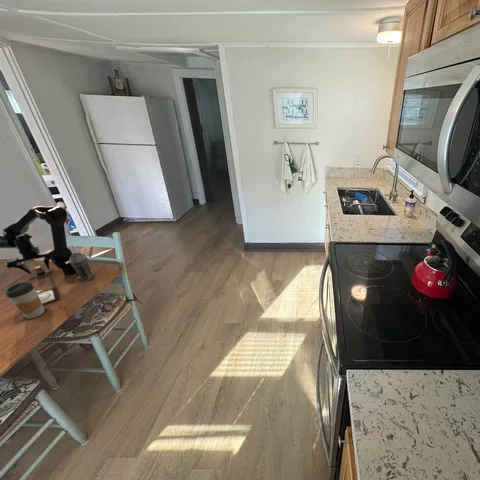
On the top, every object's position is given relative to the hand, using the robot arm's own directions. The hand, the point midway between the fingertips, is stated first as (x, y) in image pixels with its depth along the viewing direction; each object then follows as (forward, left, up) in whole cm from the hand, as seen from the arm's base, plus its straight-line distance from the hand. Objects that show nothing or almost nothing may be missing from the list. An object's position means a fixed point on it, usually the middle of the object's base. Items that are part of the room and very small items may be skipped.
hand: (40, 271), depth 147 cm
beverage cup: (-26, +13, -2) cm, 29 cm away
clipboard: (-11, +26, -2) cm, 28 cm away
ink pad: (0, 0, -2) cm, 2 cm away
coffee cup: (-15, +38, -2) cm, 41 cm away
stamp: (0, 0, -1) cm, 1 cm away
